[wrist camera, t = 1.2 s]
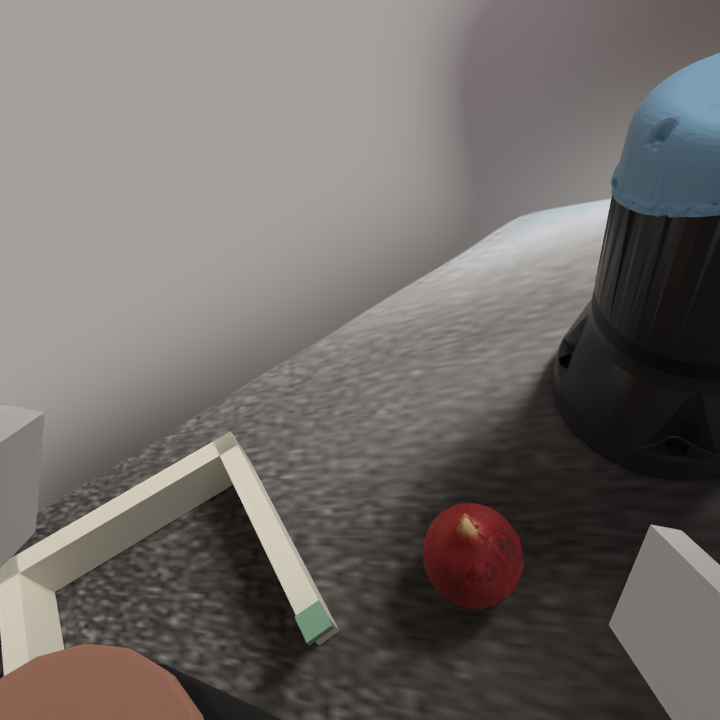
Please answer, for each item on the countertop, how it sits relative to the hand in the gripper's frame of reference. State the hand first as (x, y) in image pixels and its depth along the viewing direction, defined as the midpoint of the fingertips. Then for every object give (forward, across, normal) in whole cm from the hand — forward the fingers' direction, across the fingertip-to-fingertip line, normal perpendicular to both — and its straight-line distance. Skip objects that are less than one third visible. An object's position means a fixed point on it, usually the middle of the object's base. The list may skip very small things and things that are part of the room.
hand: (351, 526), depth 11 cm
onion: (+19, +12, -14) cm, 26 cm away
